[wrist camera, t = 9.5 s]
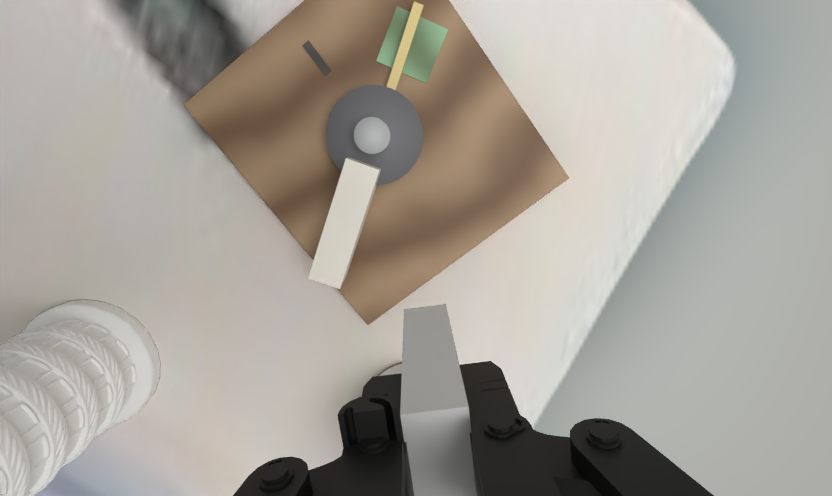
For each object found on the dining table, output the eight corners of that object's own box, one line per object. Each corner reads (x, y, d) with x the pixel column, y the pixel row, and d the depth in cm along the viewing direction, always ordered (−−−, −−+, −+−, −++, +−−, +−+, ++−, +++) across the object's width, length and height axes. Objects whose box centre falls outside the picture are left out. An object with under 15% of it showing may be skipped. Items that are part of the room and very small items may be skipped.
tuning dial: (371, -13, 32) (366, -33, 28) (464, 24, 33) (471, 8, 29) (289, 256, 36) (275, 269, 32) (373, 284, 37) (369, 300, 33)
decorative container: (58, 274, 39) (-233, 381, 21) (182, 341, 40) (6, 492, 23) (8, 381, 41) (-295, 558, 23) (128, 440, 42) (-72, 649, 25)
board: (195, 107, 36) (182, 104, 34) (396, -65, 34) (395, -79, 31) (369, 316, 40) (367, 325, 38) (560, 176, 37) (569, 178, 35)
